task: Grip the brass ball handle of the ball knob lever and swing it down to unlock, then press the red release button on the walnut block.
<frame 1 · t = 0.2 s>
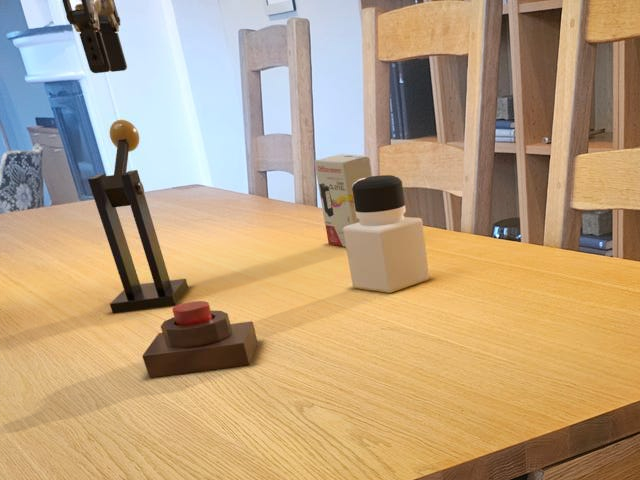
hand: (110, 71, 98), 25 cm above the table, tool pointing down, fingers open, 8 cm apart
ink box: (355, 245, 129), on the table
medicine bottle: (391, 285, 105), on the table
latch bracket: (152, 300, 110), on the table
ball knob lever: (121, 161, 106), point 16 cm above the table, hinge at 25.0°
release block: (205, 359, 86), on the table
release button: (192, 314, 83), point 4 cm above the table, slide at 0.1 cm
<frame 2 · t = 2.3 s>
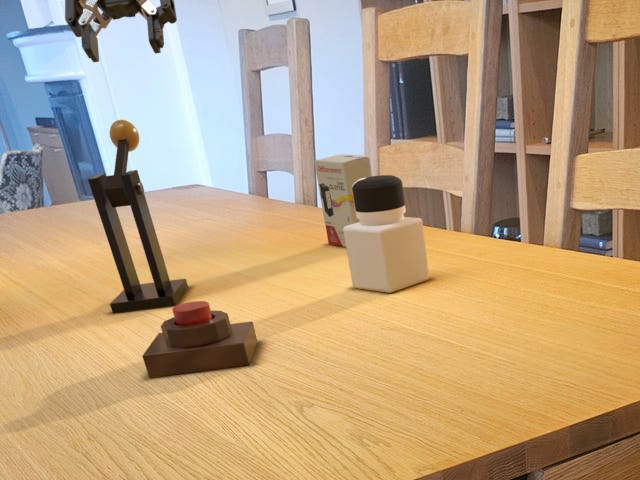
hand: (124, 52, 111), 27 cm above the table, tool tilted 40°, fingers open, 8 cm apart
nothing on the table moved.
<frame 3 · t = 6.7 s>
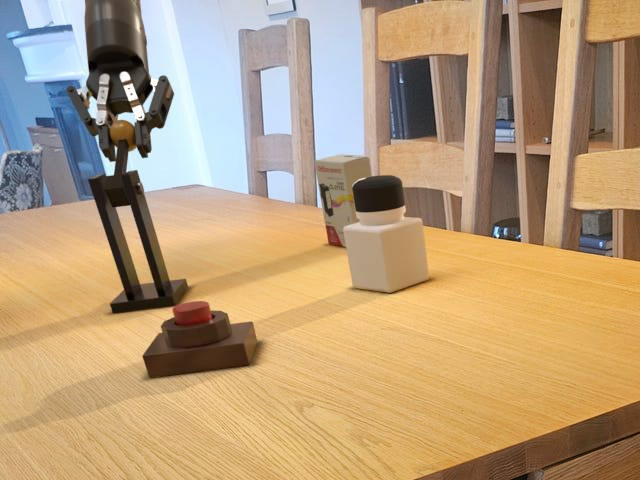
hand: (126, 154, 108), 16 cm above the table, tool tilted 45°, fingers closed on ball knob lever, 3 cm apart
ball knob lever: (121, 161, 106), point 16 cm above the table, hinge at 25.0°, touching gripper
everything else where it was.
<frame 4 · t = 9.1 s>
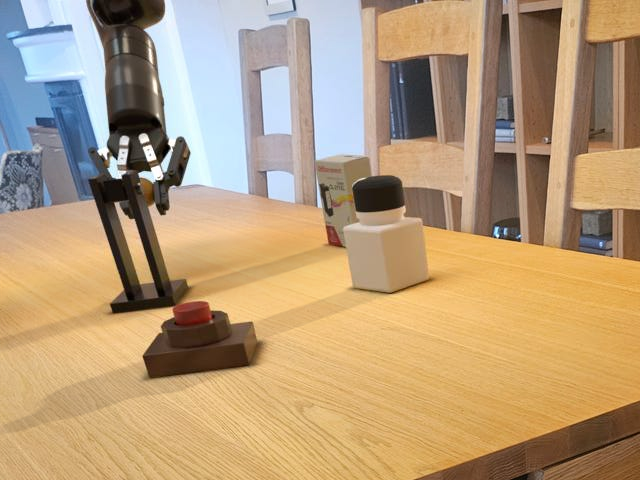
hand: (145, 212, 113), 9 cm above the table, tool tilted 45°, fingers closed on ball knob lever, 3 cm apart
ball knob lever: (131, 191, 108), point 12 cm above the table, hinge at -8.1°, touching gripper
everything else where it was.
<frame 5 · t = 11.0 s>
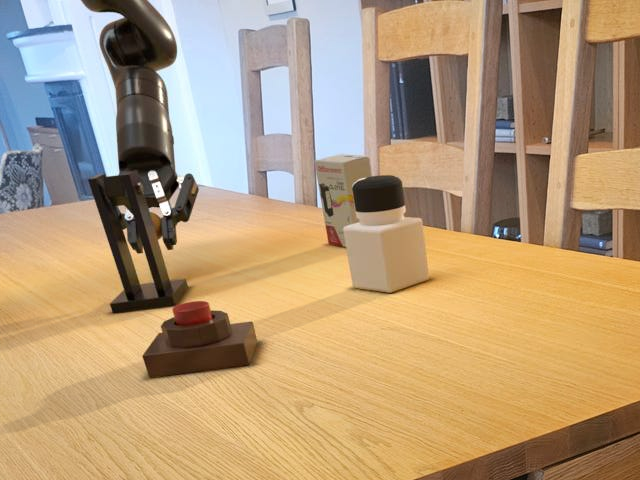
hand: (153, 247, 114), 5 cm above the table, tool tilted 45°, fingers closed on ball knob lever, 3 cm apart
ball knob lever: (135, 210, 109), point 10 cm above the table, hinge at -28.6°, touching gripper
everything else where it was.
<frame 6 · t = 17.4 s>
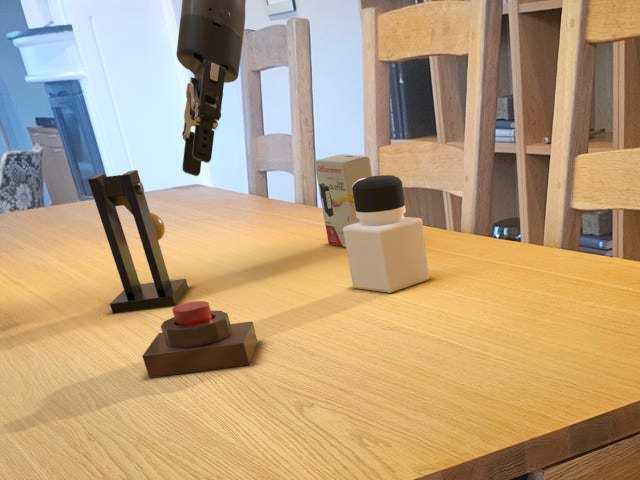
hand: (195, 167, 107), 14 cm above the table, tool tilted 30°, fingers open, 8 cm apart
ball knob lever: (135, 210, 109), point 10 cm above the table, hinge at -28.9°
everything else where it was.
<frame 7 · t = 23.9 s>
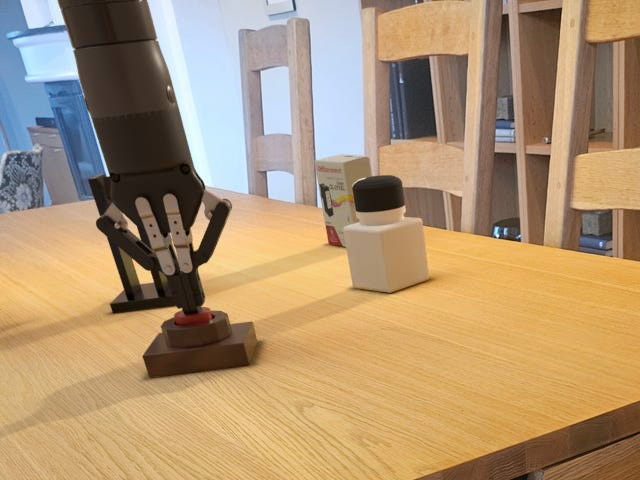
hand: (192, 311, 83), 5 cm above the table, tool pointing down, fingers closed
release button: (194, 320, 84), point 4 cm above the table, slide at -0.5 cm, touching gripper
everything else where it was.
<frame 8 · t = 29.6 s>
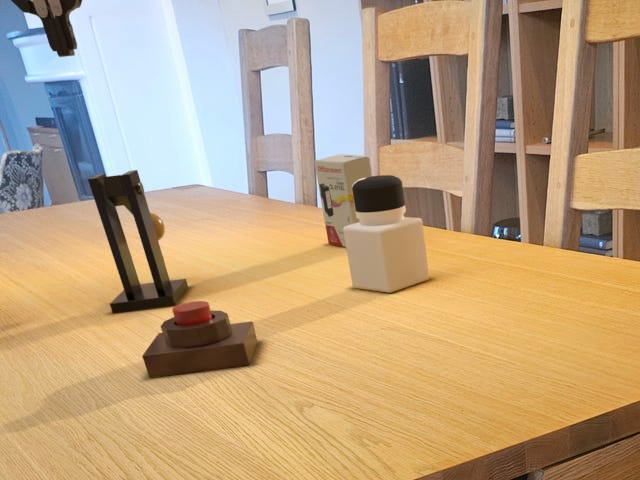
hand: (66, 55, 100), 27 cm above the table, tool pointing down, fingers closed
release button: (192, 314, 83), point 4 cm above the table, slide at 0.1 cm
everything else where it was.
at the end: ball knob lever at -29° (first picture: +25°); release button pushed in 1.1 cm at the most during the clip, back to where it started at the end; release button slide at 0.1 cm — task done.
